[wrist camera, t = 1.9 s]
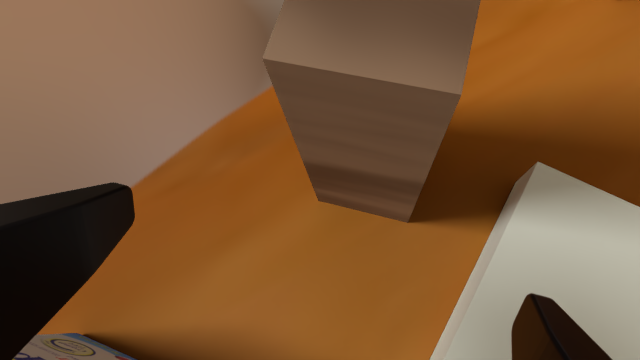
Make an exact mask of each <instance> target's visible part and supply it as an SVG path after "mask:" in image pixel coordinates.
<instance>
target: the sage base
mask: <svg viewBox="0 0 640 360" xmlns="http://www.w3.org/2000/svg"><path fill="white" fill-rule="evenodd" d="M530 293H534V294H538V295H542V296H545V297H549V298H551V299H553V300H554V301H555V302H556V303H557V304H558V305H559V306H560V307H561V308H562V309H563V310H564V311H565V312H566V313H567V314H568V315H569V316H570V317H571V318H572V319H573V320H574V321H575V322H576V323H577V324H578V325H579V326H580V327H581V328H582V329H583V330H584V331H585V332H586V333H587V334H588V335H589V336H590V337H591V338H592V339H593V340H594V341H595V342H596V343H597V344H598V345H599V346H600V347H601V348H602V349H603V350H604V351H605V352H606V353H607V354H608V355H609V356H610V357H611V358H612V359H613V360H640V207H638V206H636V205H634V204H632V203H629V202H627V201H625V200H623V199H620V198H618V197H616V196H614V195H611V194H609V193H607V192H605V191H603V190H600V189H598V188H596V187H594V186H591V185H589V184H587V183H585V182H583V181H580V180H578V179H576V178H574V177H571V176H569V175H567V174H565V173H562V172H560V171H558V170H556V169H554V168H551V167H549V166H547V165H545V164H542V163H540V162H537V163H536V164H535V165H533V166H532V167H531V168H530V169H529V170H528V171H527V172H526V173H525V174H524V175H523V176H522V177H521V178H520V179H519V180H517V181H516V182H515V185H514V187H513V189H512V191H511V193H510V195H509V197H508V199H507V201H506V203H505V205H504V207H503V209H502V211H501V213H500V216H499V218H498V220H497V222H496V224H495V226H494V228H493V230H492V232H491V234H490V236H489V238H488V240H487V242H486V244H485V247H484V249H483V251H482V253H481V255H480V257H479V259H478V261H477V263H476V265H475V267H474V269H473V271H472V273H471V275H470V277H469V280H468V282H467V284H466V286H465V288H464V290H463V292H462V294H461V296H460V298H459V300H458V302H457V304H456V306H455V308H454V311H453V313H452V315H451V317H450V319H449V321H448V323H447V325H446V327H445V329H444V331H443V333H442V335H441V337H440V339H439V342H438V344H437V346H436V348H435V350H434V352H433V354H432V356H431V358H430V360H512V342H511V332H512V326H513V322H514V320H515V318H516V316H517V314H518V312H519V309H520V307H521V305H522V303H523V301H524V299H525V297H526V296H527V295H528V294H530Z"/></svg>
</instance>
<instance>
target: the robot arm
mask: <svg viewBox="0 0 640 360" xmlns="http://www.w3.org/2000/svg"><path fill="white" fill-rule="evenodd" d="M134 218H135V212H134V203H133V194H132V190H131V188H130V187H128V186H126V185H122V184H118V183H107V184H102V185H97V186H92V187H87V188H81V189H76V190H71V191H66V192H61V193H56V194H50V195H45V196H40V197H35V198H30V199H25V200H20V201H15V202H10V203H4V204H0V360H13V359H14V358H15V356H16V355H17V354H18V353H19V352H20V351H21V350H22V349H23V348H24V347H25V346H26V345H27V344H28V343H29V342H30V341H31V340H32V339H33V338H34V336H35V335H36V334H37V333H38V332H39V331H40V330H41V329H42V328H43V327H44V326H45V325H46V324H47V323H48V322H49V321H50V320H51V319H52V318H53V316H54V315H55V314H56V313H57V312H58V311H59V310H60V309H61V308H62V307H63V306H64V305H65V304H66V303H67V302H68V301H69V300H70V299H71V298H72V296H73V295H74V294H75V293H76V292H77V291H78V290H79V289H80V288H81V287H82V286H83V285H84V284H85V283H86V282H87V281H88V280H89V278H90V277H91V276H92V275H93V274H94V273H95V272H96V270H97V269H98V268H99V267H100V266H101V264H102V263H103V262H104V260H105V259H106V258H107V257H108V255H109V254H110V253H111V251H112V250H113V249H114V248H115V246H116V245H117V244H118V242H119V241H120V240H121V239H122V237H123V236H124V235H125V234H126V232H127V231H128V230H129V228H130V227H131V226H132V224H133V222H134ZM511 342H512V360H613V359H612V358H611V357H610V356H609V355H608V354H607V353H606V352H605V351H604V350H603V349H602V348H601V347H600V346H599V345H598V344H597V343H596V342H595V341H594V340H593V339H592V338H591V337H590V336H589V335H588V334H587V333H586V332H585V331H584V330H583V329H582V328H581V327H580V326H579V325H578V324H577V323H576V322H575V321H574V320H573V319H572V318H571V317H570V316H569V315H568V314H567V313H566V312H565V311H564V310H563V309H562V308H561V307H560V306H559V305H558V304H557V303H556V302H555V301H554V300H553V299H551V298H549V297H545V296H542V295H538V294H534V293H530V294H528V295H527V296H526V297H525V299H524V301H523V303H522V305H521V307H520V309H519V312H518V314H517V316H516V318H515V320H514V322H513V326H512V332H511Z"/></svg>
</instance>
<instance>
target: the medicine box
mask: <svg viewBox="0 0 640 360" xmlns="http://www.w3.org/2000/svg"><path fill="white" fill-rule="evenodd" d="M13 360H136V359H134V358H132V357H130V356H128V355H126V354H123V353H121V352H119V351H117V350H114V349H112V348H110V347H108V346H105V345H103V344H101V343H98V342H97V341H94V340H92V339H90V338H88V337H85V336H83V335H81V334H78V333H67V334H49V335H35V336H34V338H33V339H32V340H31V341H30V342H29V343H28V344H27V345H26V346H25V347H24V348H23V349H22V350H21V351H20V352H19V353H18V354H17V355H16V356H15V358H14V359H13Z"/></svg>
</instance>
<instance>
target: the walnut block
mask: <svg viewBox="0 0 640 360" xmlns="http://www.w3.org/2000/svg"><path fill="white" fill-rule="evenodd" d="M479 5H480V0H285V1H284V3H283V5H282V8H281V11H280V13H279V16H278V19H277V21H276V24H275V27H274V29H273V32H272V35H271V37H270V40H269V43H268V45H267V48H266V50H265V53H264V56H263V61H264V64H265V66H266V69H267V71H268V74H269V76H270V79H271V82H272V84H273V87H274V89H275V92H276V94H277V97H278V99H279V102H280V104H281V107H282V109H283V112H284V115H285V117H286V120H287V122H288V125H289V127H290V130H291V132H292V135H293V137H294V140H295V142H296V145H297V147H298V150H299V153H300V155H301V158H302V160H303V163H304V165H305V168H306V170H307V173H308V175H309V178H310V180H311V183H312V186H313V188H314V191H315V193H316V196H317V198H318V201H322V202H326V203H330V204H334V205H339V206H343V207H347V208H351V209H355V210H359V211H363V212H367V213H371V214H375V215H379V216H383V217H387V218H391V219H395V220H399V221H403V222H407V223H408V221H409V218H410V216H411V214H412V211H413V209H414V206H415V204H416V202H417V199H418V197H419V194H420V192H421V190H422V187H423V185H424V183H425V180H426V178H427V175H428V173H429V171H430V168H431V166H432V163H433V161H434V159H435V156H436V154H437V151H438V149H439V147H440V144H441V142H442V140H443V137H444V135H445V132H446V130H447V128H448V125H449V123H450V120H451V118H452V116H453V113H454V111H455V108H456V106H457V104H458V101H459V99H460V96H461V93H462V88H463V83H464V79H465V74H466V69H467V64H468V59H469V54H470V49H471V44H472V39H473V34H474V29H475V24H476V19H477V14H478V9H479Z"/></svg>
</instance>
